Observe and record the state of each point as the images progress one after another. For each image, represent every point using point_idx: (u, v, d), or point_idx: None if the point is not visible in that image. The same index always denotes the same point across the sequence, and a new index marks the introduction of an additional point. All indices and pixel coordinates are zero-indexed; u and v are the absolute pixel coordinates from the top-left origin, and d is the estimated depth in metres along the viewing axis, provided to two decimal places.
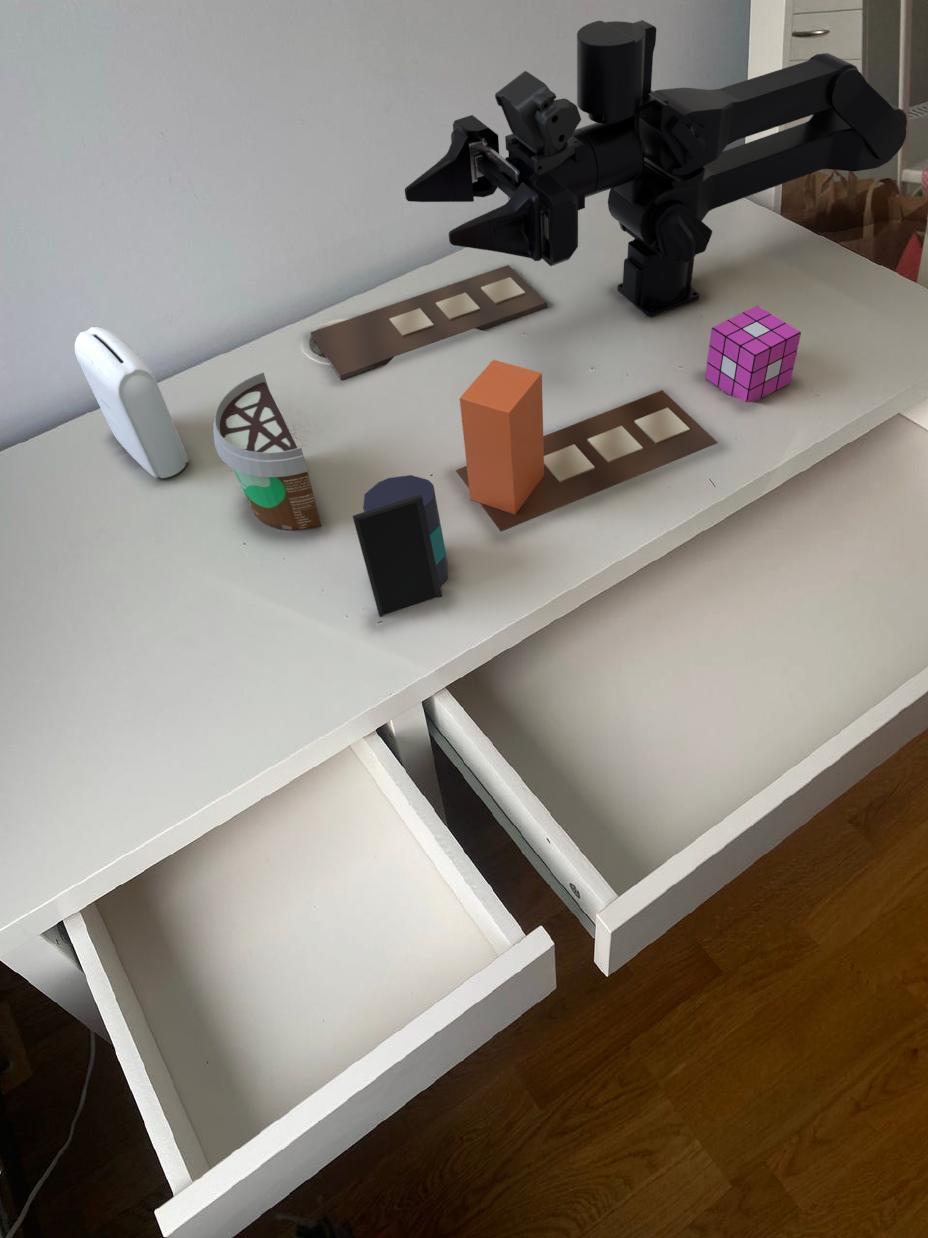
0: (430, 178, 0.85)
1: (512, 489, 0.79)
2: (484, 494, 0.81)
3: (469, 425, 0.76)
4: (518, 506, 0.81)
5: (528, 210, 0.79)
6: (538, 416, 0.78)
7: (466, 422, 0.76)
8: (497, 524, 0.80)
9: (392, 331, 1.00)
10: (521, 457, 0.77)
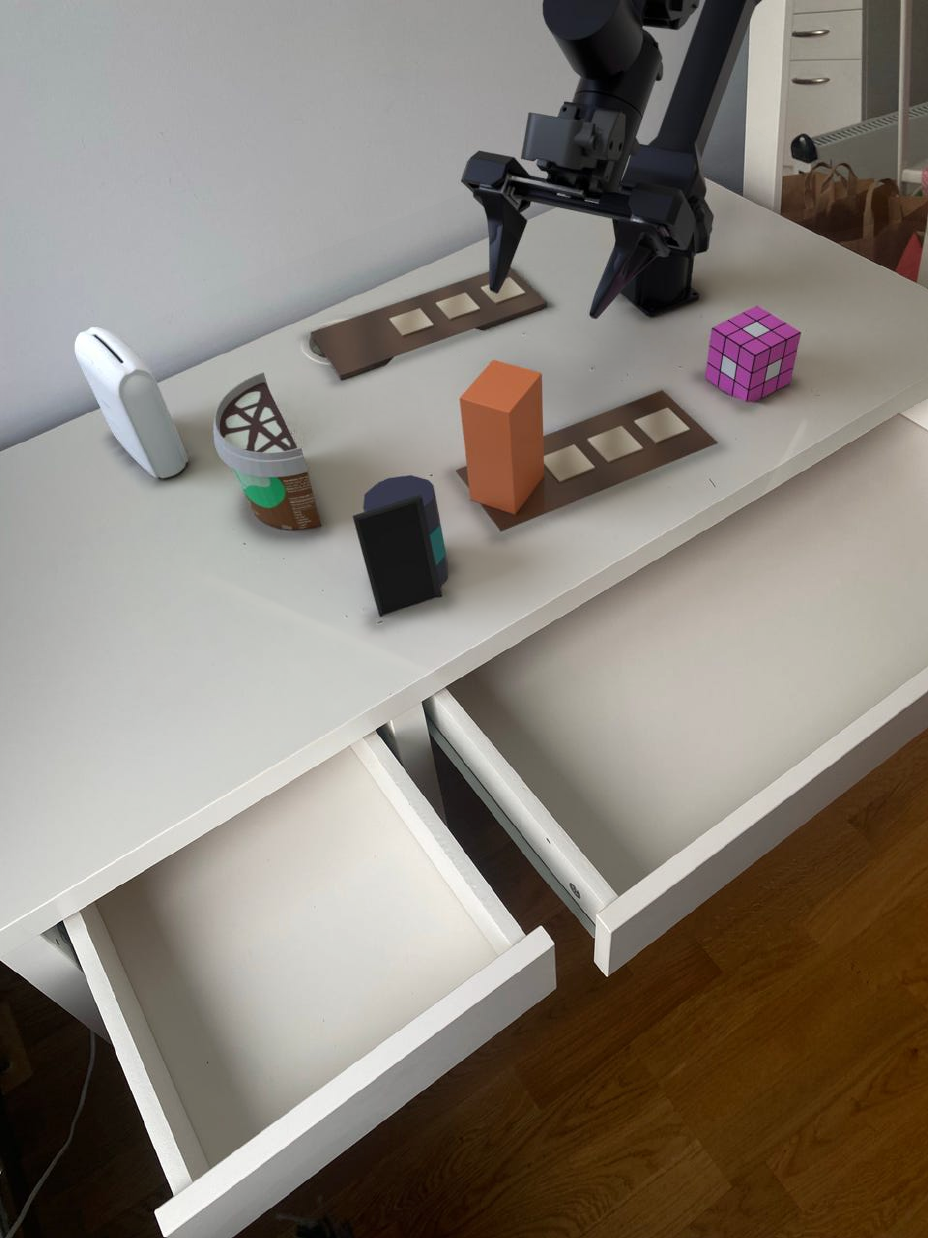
0: (500, 258, 0.78)
1: (512, 489, 0.79)
2: (484, 494, 0.81)
3: (469, 425, 0.76)
4: (518, 506, 0.81)
5: (642, 236, 0.72)
6: (538, 416, 0.78)
7: (466, 422, 0.76)
8: (497, 524, 0.80)
9: (392, 331, 1.00)
10: (521, 457, 0.77)
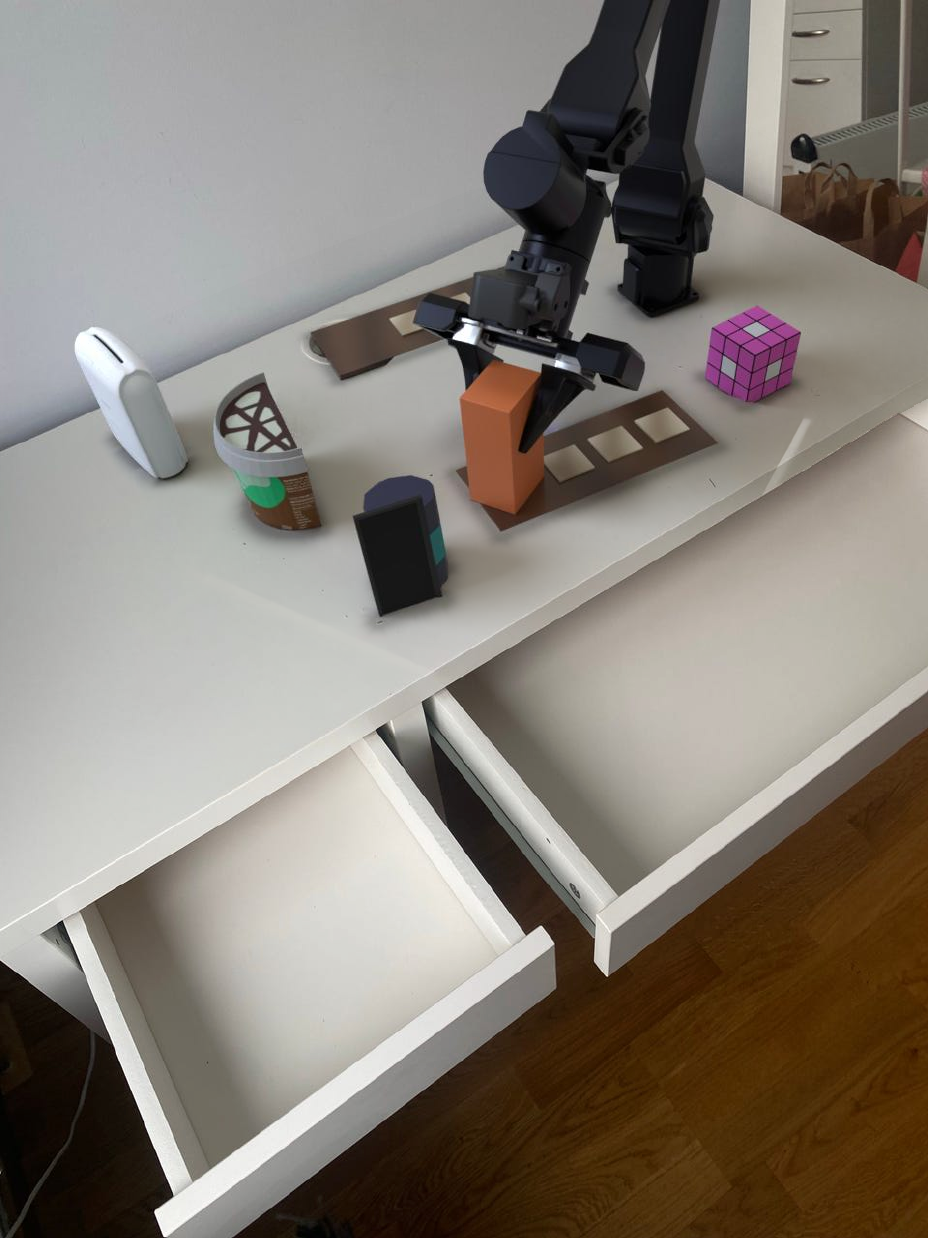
0: None
1: (513, 489, 0.79)
2: (484, 494, 0.81)
3: (470, 425, 0.76)
4: (518, 506, 0.81)
5: (566, 378, 0.74)
6: None
7: (466, 423, 0.76)
8: (497, 524, 0.80)
9: (392, 331, 1.00)
10: (521, 457, 0.77)
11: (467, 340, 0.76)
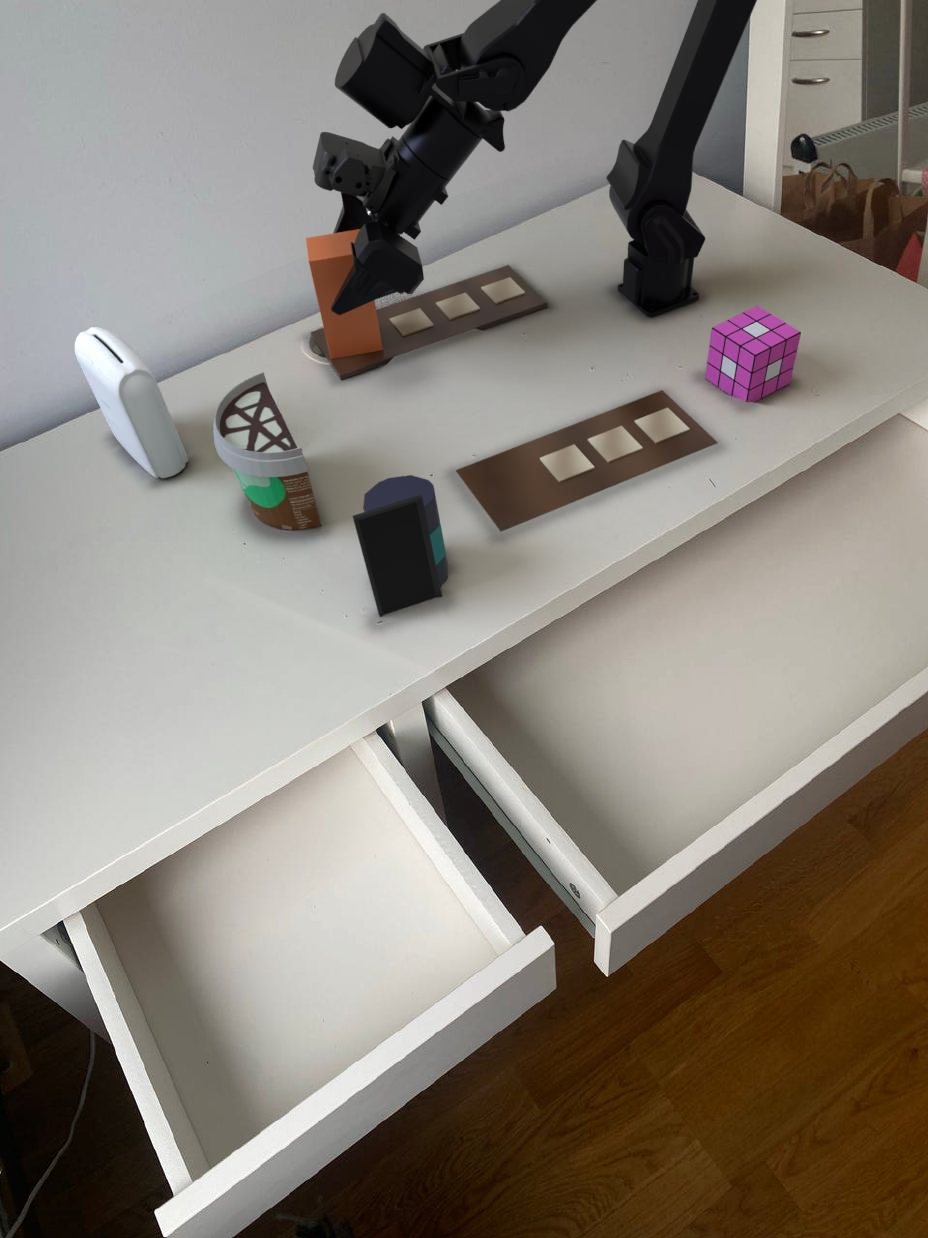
0: None
1: (325, 334, 0.95)
2: None
3: None
4: (336, 354, 0.97)
5: None
6: None
7: None
8: (497, 524, 0.80)
9: (392, 331, 1.00)
10: None
11: None
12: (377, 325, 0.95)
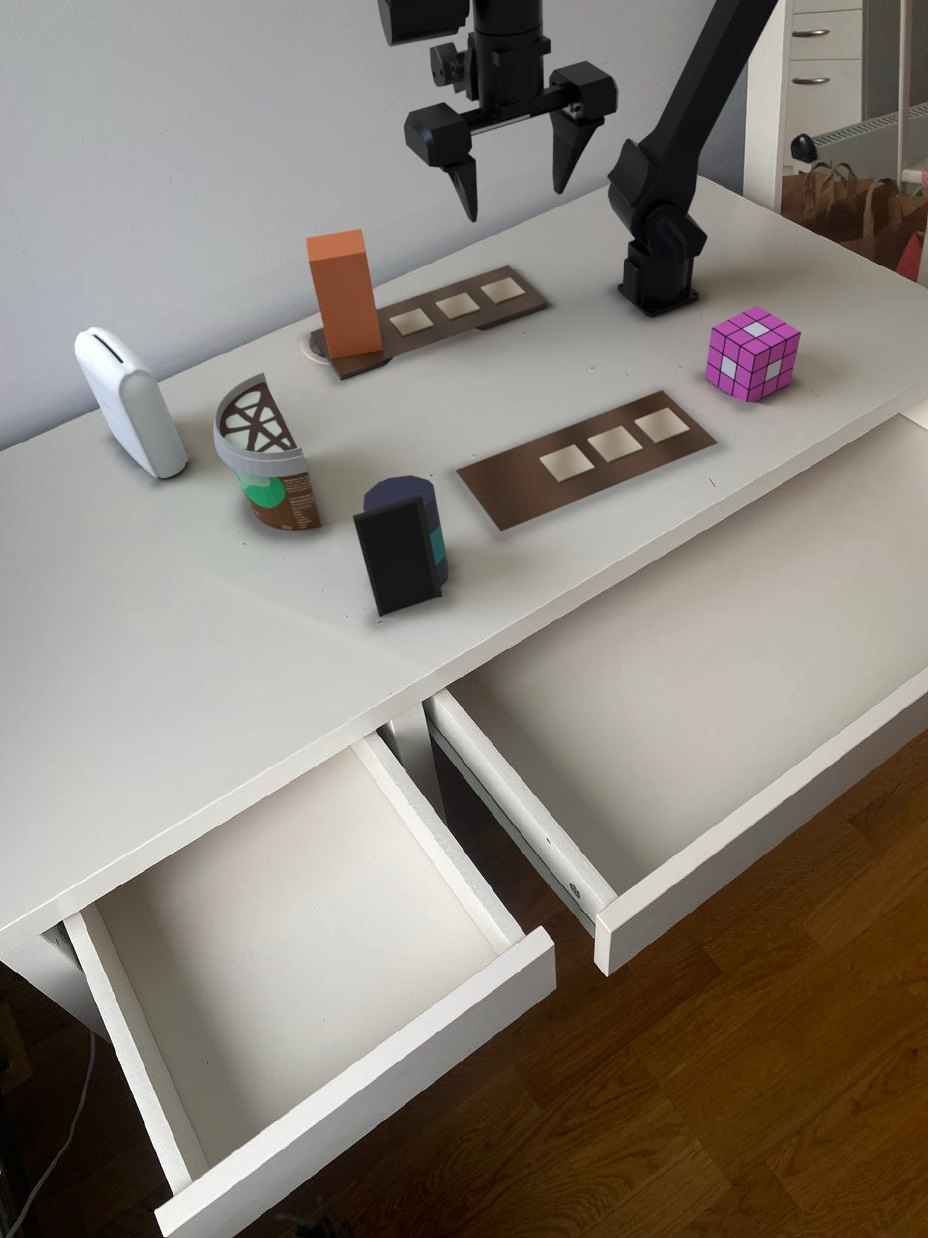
0: (553, 162, 0.89)
1: (325, 334, 0.95)
2: None
3: None
4: (336, 354, 0.97)
5: None
6: (363, 288, 0.92)
7: None
8: (497, 524, 0.80)
9: (392, 331, 1.00)
10: (335, 311, 0.93)
11: None
12: (377, 325, 0.95)
